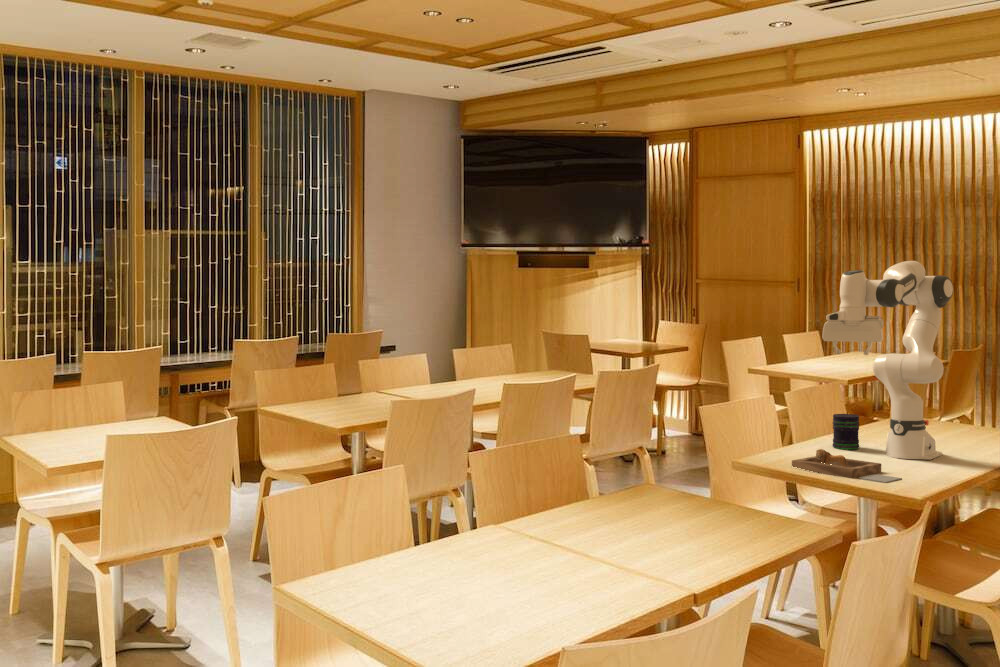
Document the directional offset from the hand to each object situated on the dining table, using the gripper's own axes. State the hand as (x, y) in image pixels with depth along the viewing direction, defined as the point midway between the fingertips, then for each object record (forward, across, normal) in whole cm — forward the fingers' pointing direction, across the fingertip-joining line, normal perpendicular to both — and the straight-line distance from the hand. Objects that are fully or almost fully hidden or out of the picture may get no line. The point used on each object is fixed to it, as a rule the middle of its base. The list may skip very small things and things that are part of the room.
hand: (852, 354), depth 341 cm
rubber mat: (+41, -12, +17) cm, 46 cm away
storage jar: (+41, +7, -34) cm, 54 cm away
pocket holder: (+41, +4, +6) cm, 42 cm away
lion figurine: (+41, +5, +6) cm, 42 cm away
